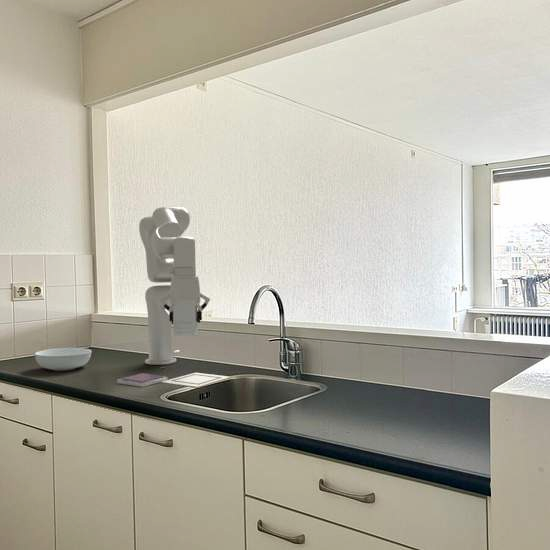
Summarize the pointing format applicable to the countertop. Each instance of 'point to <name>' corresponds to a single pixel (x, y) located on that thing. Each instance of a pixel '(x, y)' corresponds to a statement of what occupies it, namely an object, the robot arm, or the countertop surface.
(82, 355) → the serving bowl
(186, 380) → the print sheet
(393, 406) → the countertop surface
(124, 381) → the ink pad
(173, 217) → the robot arm
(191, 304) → the supplement box
